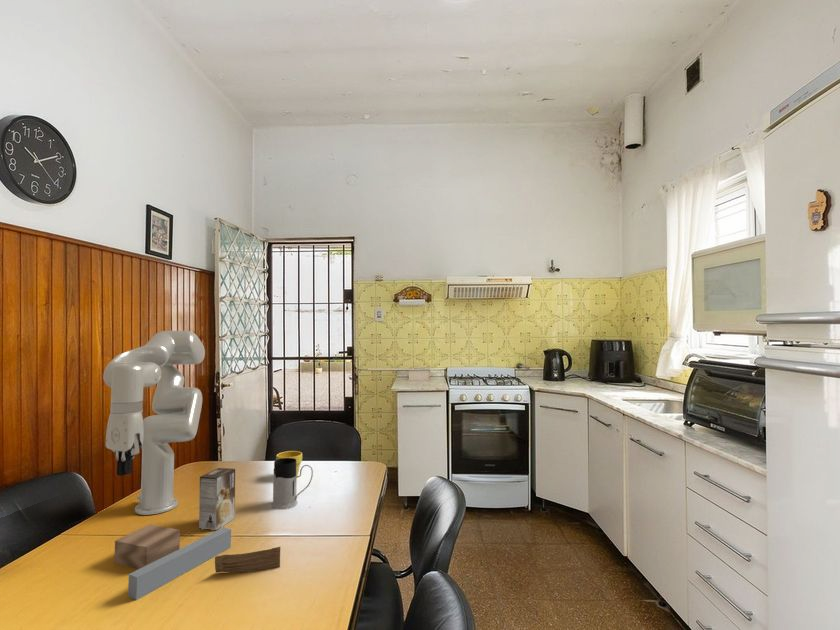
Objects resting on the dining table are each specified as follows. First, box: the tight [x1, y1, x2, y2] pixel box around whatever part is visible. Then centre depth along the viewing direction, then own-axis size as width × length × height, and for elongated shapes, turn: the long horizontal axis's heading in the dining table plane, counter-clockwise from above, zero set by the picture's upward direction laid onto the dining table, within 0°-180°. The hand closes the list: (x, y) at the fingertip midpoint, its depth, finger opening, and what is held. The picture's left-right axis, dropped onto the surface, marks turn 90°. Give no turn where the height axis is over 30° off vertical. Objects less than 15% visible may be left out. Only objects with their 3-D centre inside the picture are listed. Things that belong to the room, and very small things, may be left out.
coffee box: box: [198, 467, 236, 531], centre depth 134 cm, size 9×6×16 cm
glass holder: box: [271, 458, 314, 510], centre depth 150 cm, size 9×14×15 cm, turn 88°
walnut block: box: [113, 524, 181, 570], centre depth 114 cm, size 11×10×6 cm
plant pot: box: [275, 450, 303, 476], centre depth 177 cm, size 10×10×10 cm
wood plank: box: [214, 546, 281, 574], centre depth 108 cm, size 15×2×5 cm, turn 106°
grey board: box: [127, 526, 232, 601], centre depth 108 cm, size 3×26×5 cm, turn 156°
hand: (124, 474), depth 119 cm, fingers closed
